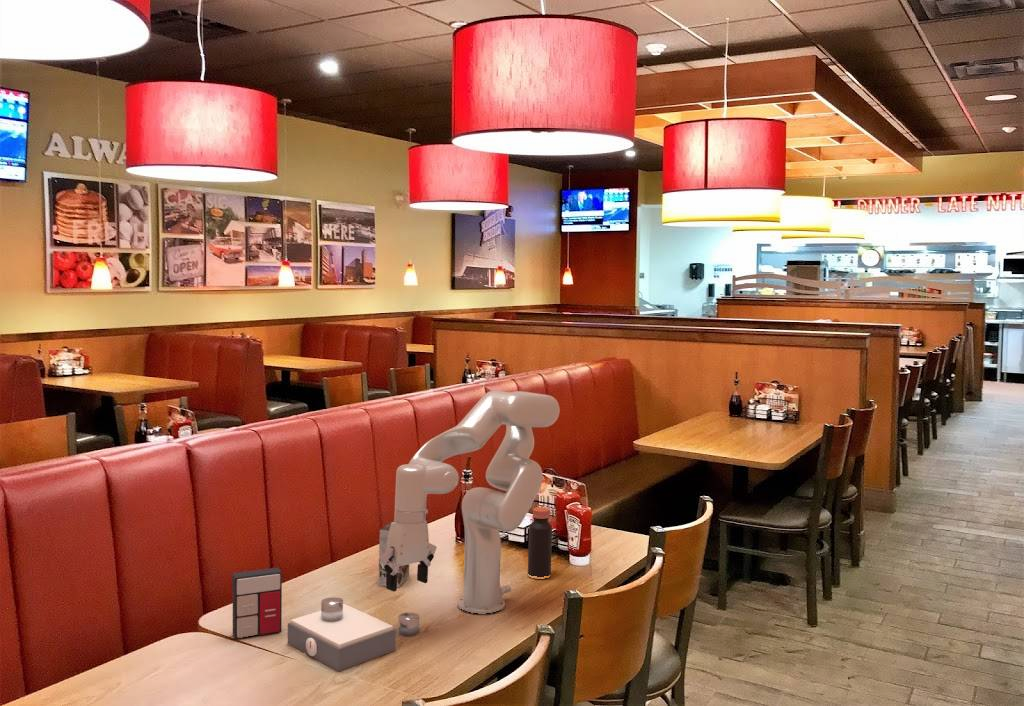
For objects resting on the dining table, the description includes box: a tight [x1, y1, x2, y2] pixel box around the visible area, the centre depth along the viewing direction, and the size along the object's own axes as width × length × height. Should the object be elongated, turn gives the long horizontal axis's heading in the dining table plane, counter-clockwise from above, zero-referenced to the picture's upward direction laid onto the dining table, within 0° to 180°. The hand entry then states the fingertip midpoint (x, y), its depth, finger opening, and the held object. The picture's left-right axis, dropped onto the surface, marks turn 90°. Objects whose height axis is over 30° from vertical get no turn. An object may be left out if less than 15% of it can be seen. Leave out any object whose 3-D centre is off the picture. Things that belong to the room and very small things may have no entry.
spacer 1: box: [320, 596, 344, 622], centre depth 205 cm, size 5×5×4 cm
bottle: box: [527, 506, 553, 577], centre depth 254 cm, size 7×7×20 cm
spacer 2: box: [397, 612, 420, 637], centre depth 212 cm, size 5×5×4 cm
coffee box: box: [378, 521, 410, 589], centre depth 247 cm, size 9×6×16 cm
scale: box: [287, 603, 397, 672], centre depth 202 cm, size 17×20×6 cm
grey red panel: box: [231, 567, 283, 639], centre depth 208 cm, size 11×4×15 cm, turn 117°
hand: (407, 585), depth 211 cm, fingers open, 9 cm apart
